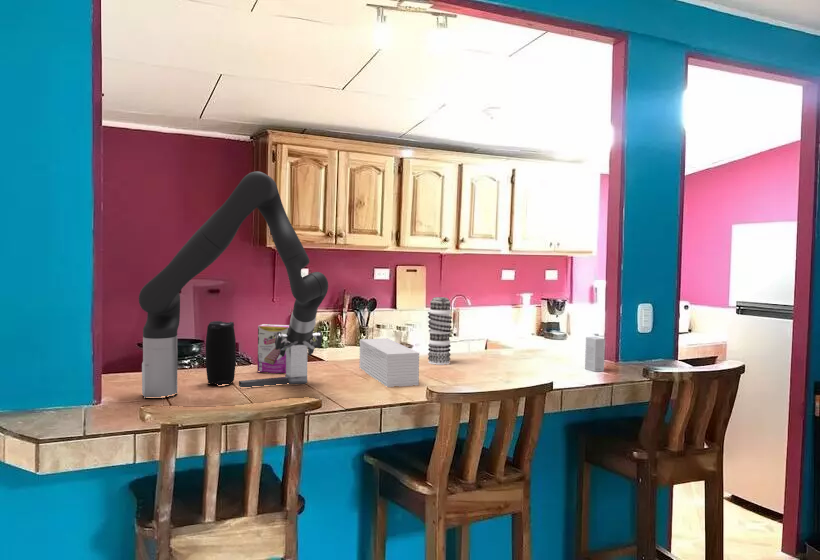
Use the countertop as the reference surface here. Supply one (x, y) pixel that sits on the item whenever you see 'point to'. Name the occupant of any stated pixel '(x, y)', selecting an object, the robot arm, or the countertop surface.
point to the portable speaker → (220, 352)
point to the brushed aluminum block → (296, 361)
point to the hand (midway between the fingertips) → (295, 353)
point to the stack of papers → (389, 362)
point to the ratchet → (273, 381)
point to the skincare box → (594, 354)
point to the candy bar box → (270, 349)
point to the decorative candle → (439, 331)
